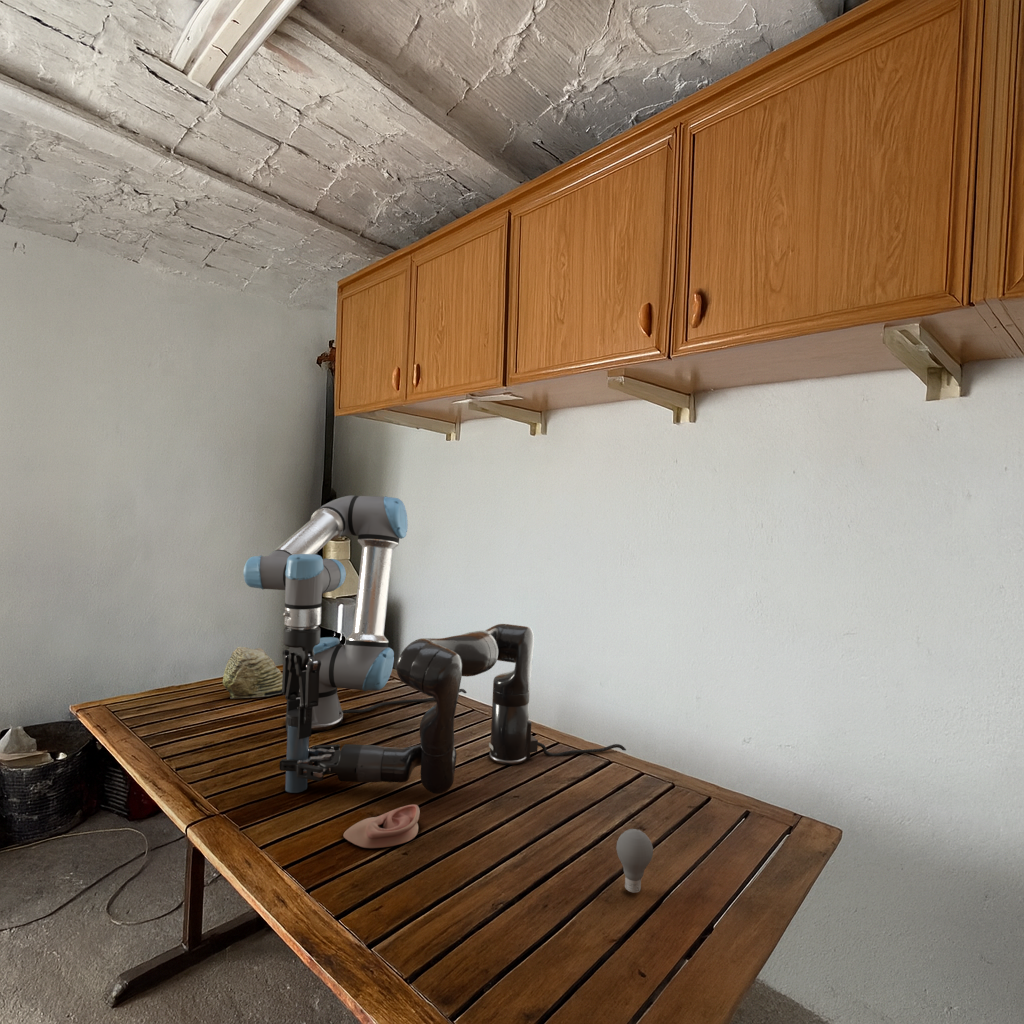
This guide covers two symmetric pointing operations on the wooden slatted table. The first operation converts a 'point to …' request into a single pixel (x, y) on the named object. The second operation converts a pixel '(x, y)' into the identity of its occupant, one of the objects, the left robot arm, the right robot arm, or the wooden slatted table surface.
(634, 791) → the wooden slatted table surface
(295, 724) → the lid
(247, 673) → the fossil
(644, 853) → the light bulb
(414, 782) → the wooden slatted table surface
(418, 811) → the anatomical model
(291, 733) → the blue-grey cylindrical bottle
